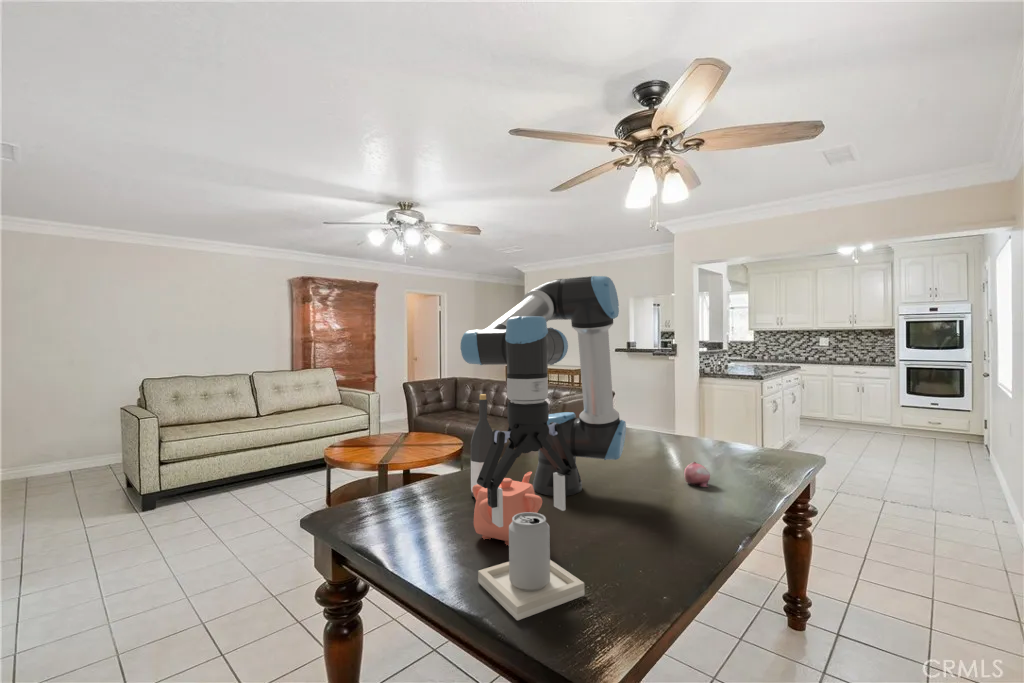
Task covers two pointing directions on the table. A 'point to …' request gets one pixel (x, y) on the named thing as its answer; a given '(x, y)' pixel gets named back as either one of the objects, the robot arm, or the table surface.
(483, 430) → the wine bottle
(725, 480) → the table surface
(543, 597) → the coaster
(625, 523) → the table surface
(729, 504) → the table surface
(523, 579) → the can
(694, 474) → the pomegranate
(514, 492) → the pink kettle
